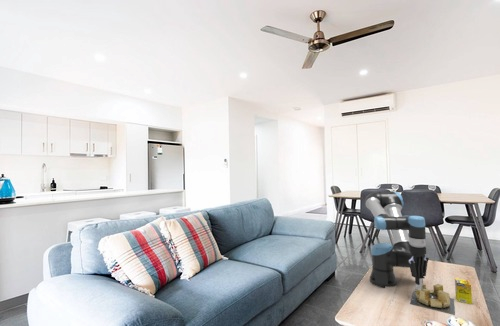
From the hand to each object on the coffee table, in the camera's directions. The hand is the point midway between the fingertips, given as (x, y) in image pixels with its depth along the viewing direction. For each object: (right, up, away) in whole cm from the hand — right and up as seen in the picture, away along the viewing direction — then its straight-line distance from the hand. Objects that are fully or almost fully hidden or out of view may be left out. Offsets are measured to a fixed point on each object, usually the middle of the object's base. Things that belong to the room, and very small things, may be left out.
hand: (419, 290), depth 136 cm
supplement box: (+20, -5, -4) cm, 21 cm away
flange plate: (+4, -5, -4) cm, 8 cm away
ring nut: (+4, -4, -4) cm, 7 cm away
